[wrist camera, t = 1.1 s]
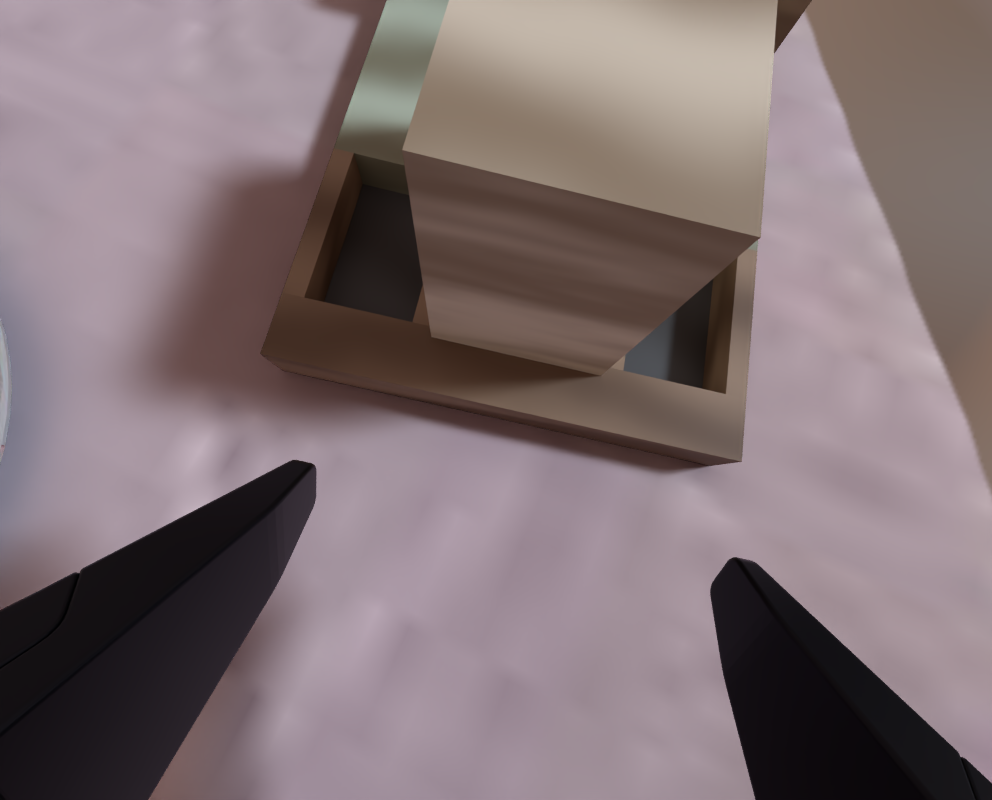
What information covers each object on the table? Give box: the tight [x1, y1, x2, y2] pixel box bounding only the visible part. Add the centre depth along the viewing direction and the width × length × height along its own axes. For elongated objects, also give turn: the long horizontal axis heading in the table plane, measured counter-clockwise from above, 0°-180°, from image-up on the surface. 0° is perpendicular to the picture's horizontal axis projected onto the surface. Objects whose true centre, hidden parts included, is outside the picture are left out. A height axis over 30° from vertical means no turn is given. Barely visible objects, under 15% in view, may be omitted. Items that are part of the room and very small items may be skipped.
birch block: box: [402, 0, 778, 376], centre depth 16 cm, size 12×8×11 cm, turn 168°
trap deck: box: [260, 0, 812, 466], centre depth 22 cm, size 25×22×6 cm
